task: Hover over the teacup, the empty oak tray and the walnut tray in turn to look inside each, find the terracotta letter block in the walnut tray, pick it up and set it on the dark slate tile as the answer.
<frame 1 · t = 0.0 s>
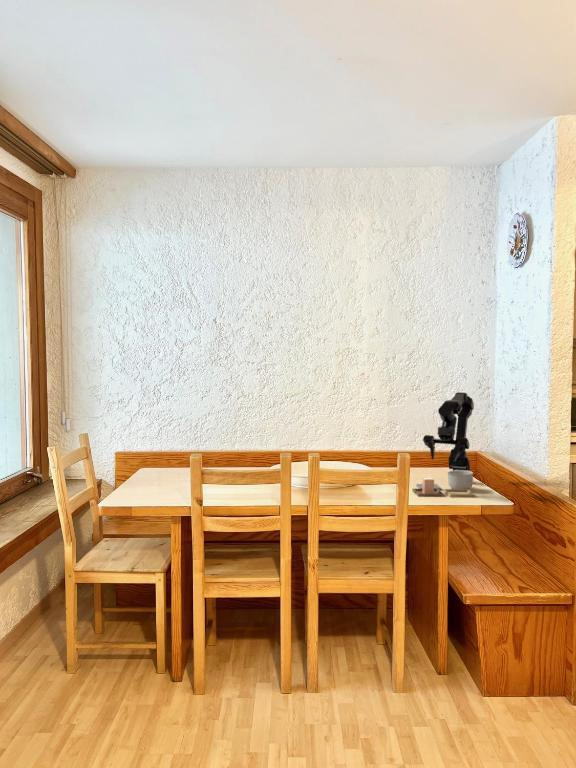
hand: (443, 460, 278), 15 cm above the table, tool tilted 35°, fingers open, 9 cm apart
letter block: (428, 493, 279), resting on walnut tray
walnut tray: (428, 494, 279), on the table
slate tile: (428, 489, 290), on the table
oak tray: (459, 495, 279), on the table
teacup: (459, 489, 292), on the table
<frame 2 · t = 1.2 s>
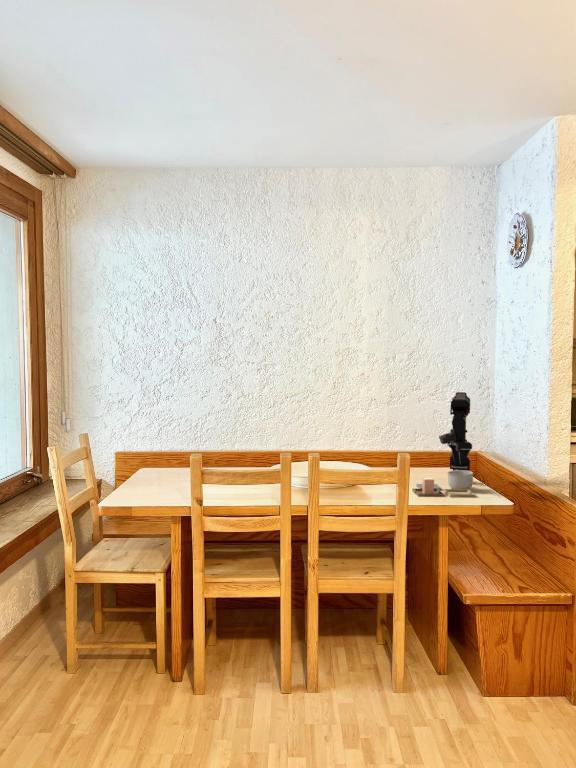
hand: (458, 462, 290), 12 cm above the table, tool pointing down, fingers open, 9 cm apart
nothing on the table moved.
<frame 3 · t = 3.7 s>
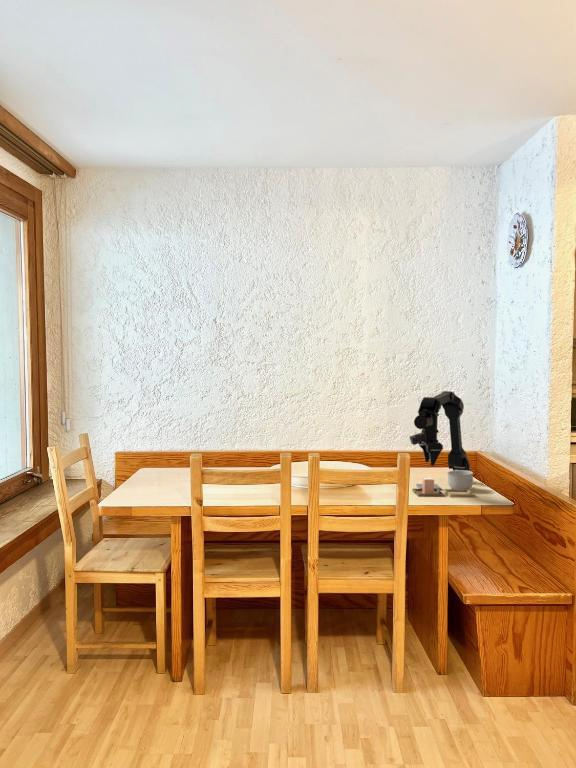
hand: (429, 464, 278), 13 cm above the table, tool pointing down, fingers open, 9 cm apart
nothing on the table moved.
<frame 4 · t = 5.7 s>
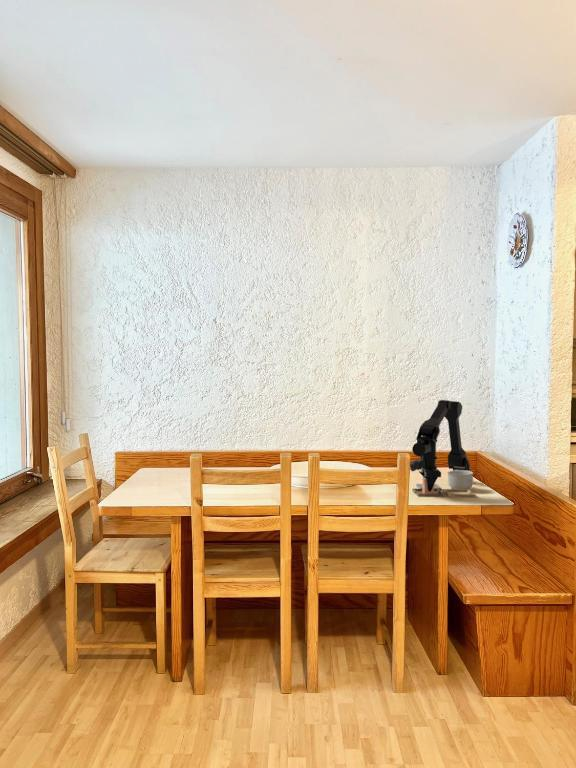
hand: (428, 490, 279), 2 cm above the table, tool pointing down, fingers closed on letter block, 4 cm apart
letter block: (428, 493, 279), resting on walnut tray, touching gripper
everything else where it was.
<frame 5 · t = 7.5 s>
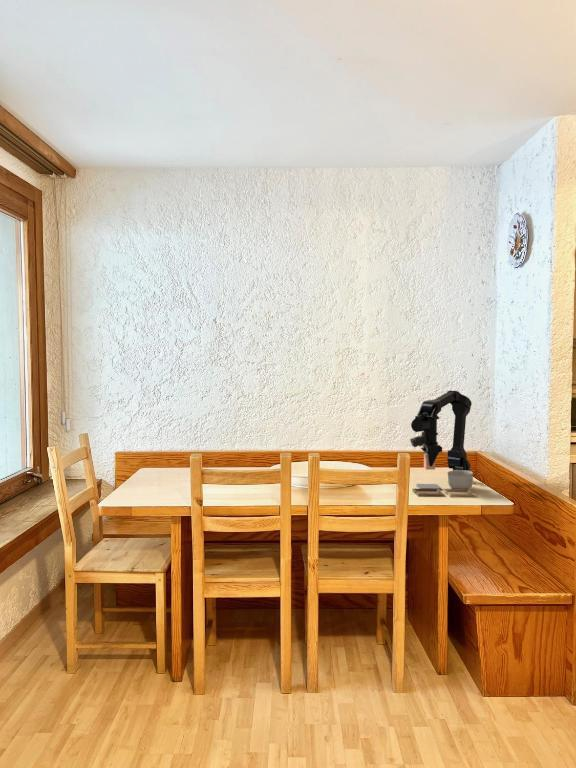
hand: (429, 465, 290), 11 cm above the table, tool pointing down, fingers closed on letter block, 4 cm apart
letter block: (429, 468, 290), point 9 cm above the table, touching gripper
everything else where it was.
when the fingers open (4 cm above the table, at t = 9.0 s): letter block drops 1 cm, resting on slate tile.
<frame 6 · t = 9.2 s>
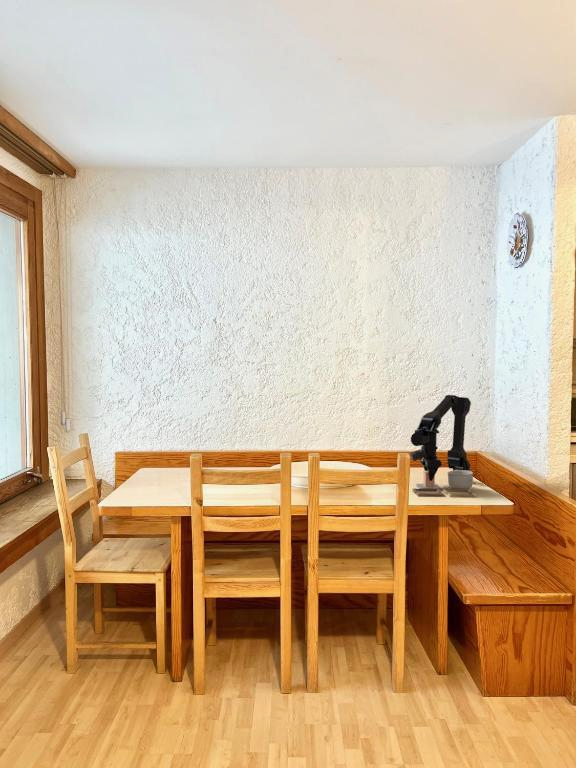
hand: (429, 479, 290), 4 cm above the table, tool pointing down, fingers open, 6 cm apart
letter block: (428, 486, 290), point 1 cm above the table, touching slate tile
everything else where it was.
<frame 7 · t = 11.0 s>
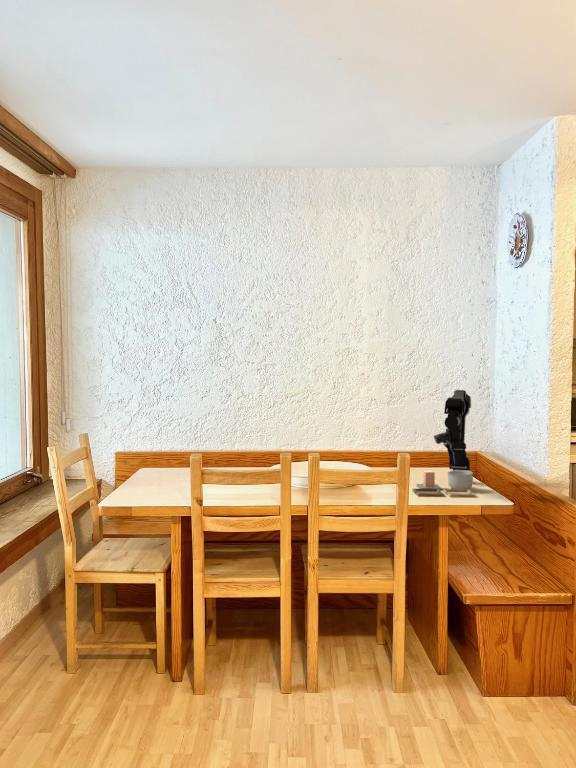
hand: (453, 462, 286), 13 cm above the table, tool pointing down, fingers open, 9 cm apart
nothing on the table moved.
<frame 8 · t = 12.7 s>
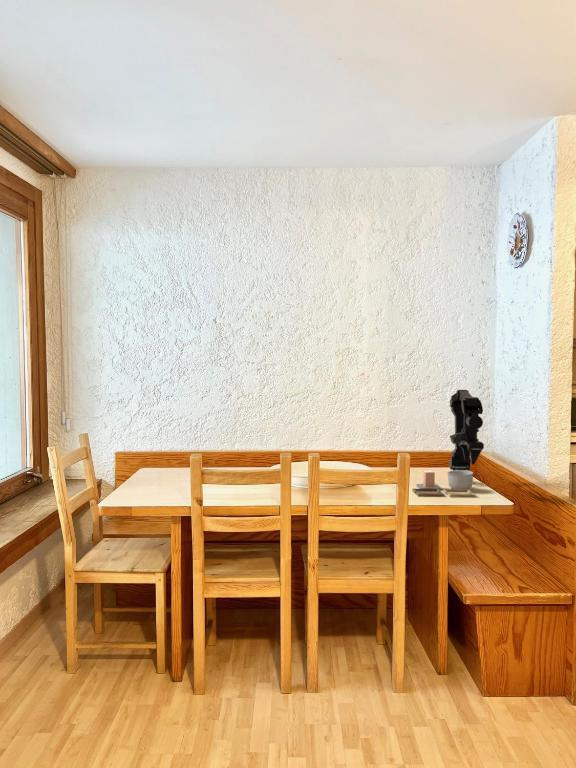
hand: (469, 462, 284), 13 cm above the table, tool pointing down, fingers open, 9 cm apart
nothing on the table moved.
at the end: letter block 0.0 cm from the slate tile (horizontally); letter block point 1.5 cm above the table; letter block tilted 0° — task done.
